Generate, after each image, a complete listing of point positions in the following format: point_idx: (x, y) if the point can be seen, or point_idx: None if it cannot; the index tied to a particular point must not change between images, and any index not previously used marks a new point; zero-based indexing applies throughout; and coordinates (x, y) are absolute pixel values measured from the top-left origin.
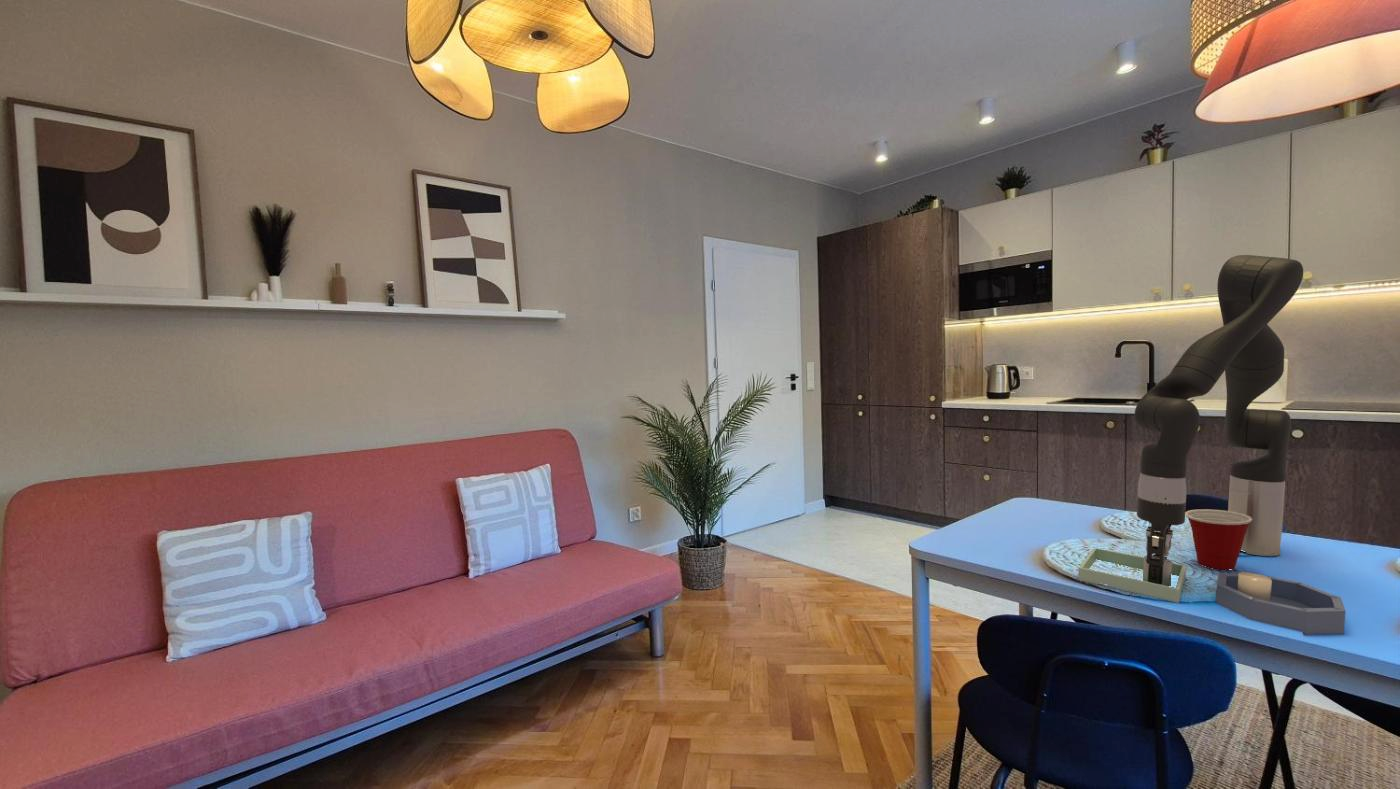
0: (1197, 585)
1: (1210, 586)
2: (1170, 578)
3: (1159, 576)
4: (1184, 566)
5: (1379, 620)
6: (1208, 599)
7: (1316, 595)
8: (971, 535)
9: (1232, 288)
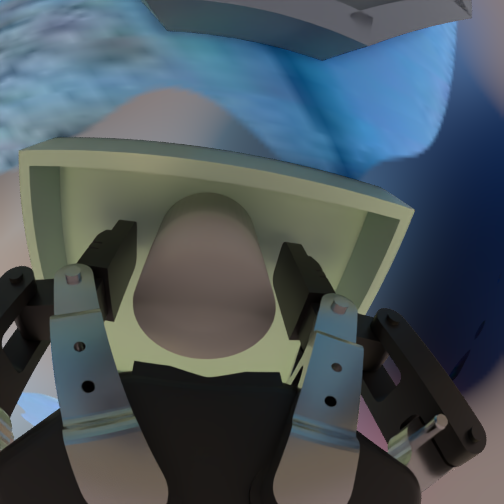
0: (97, 94)
1: (85, 55)
2: (227, 211)
3: (319, 273)
4: (36, 156)
5: None
6: (264, 67)
7: None
8: None
9: None
